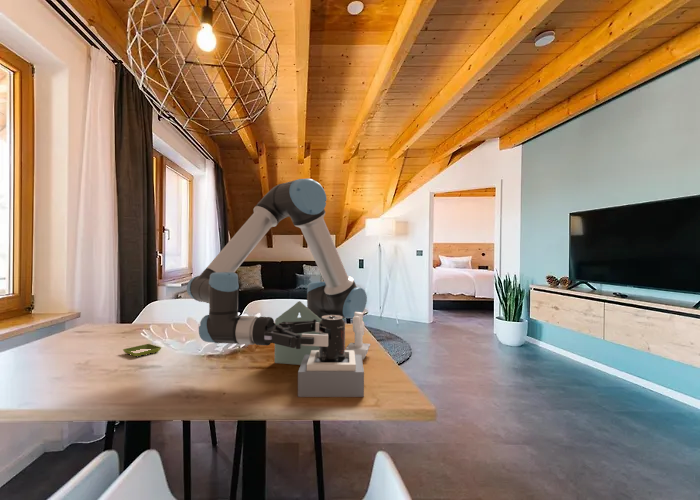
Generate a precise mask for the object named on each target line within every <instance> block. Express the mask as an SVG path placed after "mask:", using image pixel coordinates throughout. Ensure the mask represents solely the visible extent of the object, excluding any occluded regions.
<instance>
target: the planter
mask: <svg viewBox="0 0 700 500" xmlns="http://www.w3.org/2000/svg"><path fill="white" fill-rule="evenodd" d="M299 315H300V317H299ZM314 319H316V320H317V322H320V321H321V320H322V319H320V318H319V317H318V316H317V315H316V314H314V313H313V312H312V311H311V310H309V309H308V308H307V305H305V304H304V303H303V302H302V301H297V302H296V303H295V304H294V305H292V306H291V307H290V308H288V309H287V310H285V312H283V313H281V315H279V316H278V317H276V318H275V320H274V323H275V324H276V325H279V323H282V322H298V321H313V320H314ZM311 327H312V325H311ZM297 334H299V335H301V337H302V334H319V332H316V331H312V332H304V333H297ZM290 344H291V343H290ZM311 350H319V346H303V345H302V344H301V349H296V347H295V348H291V347H286V346H282V345H278V344H274V363H275V364H282V365H283V364H285V365H295V366H296V365H298V366H301V363H302V360H303V358H304V355H305V354H310V353H311Z"/></svg>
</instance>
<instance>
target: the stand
mask: <svg viewBox="0 0 700 500" xmlns="http://www.w3.org/2000/svg"><path fill="white" fill-rule="evenodd" d="M363 363H364V362H363V359H362V357H361V355H355V352H354V350H346V349H345V360H344V361H343V362H341V363H322V362H321V361H320V360H319V350H311V353H310V354H305V355H304V358H303V360H302V363H301V365H299V366H300V367H299V368H298V371H297V398H361V397H362V398H364V397H365V370H364V364H363Z"/></svg>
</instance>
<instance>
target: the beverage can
mask: <svg viewBox="0 0 700 500" xmlns="http://www.w3.org/2000/svg"><path fill="white" fill-rule="evenodd" d="M343 318H344V317H343V316H340V315H325V316H322V320H321V321H320V322H319V334H322V335H328V347H323V346H319V360H320V361H321V362H322V363H341V362H343V361H344V360H345V350H346V322H345V321H344V319H343Z"/></svg>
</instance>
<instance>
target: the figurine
mask: <svg viewBox="0 0 700 500" xmlns="http://www.w3.org/2000/svg"><path fill="white" fill-rule="evenodd" d="M363 318H364V312H363V313H362V312H354V317H353V318H352V331H353V333H354V342H349V343H348V345H347V346H345V350H354V352H355V355H361V357H362V360H365V358H366V357H367V355H368V352H369V349H370V347H371V343H364V342H363V338H364V337H363V336H364V335H365V322H364V321H363V320H364V319H363Z"/></svg>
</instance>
